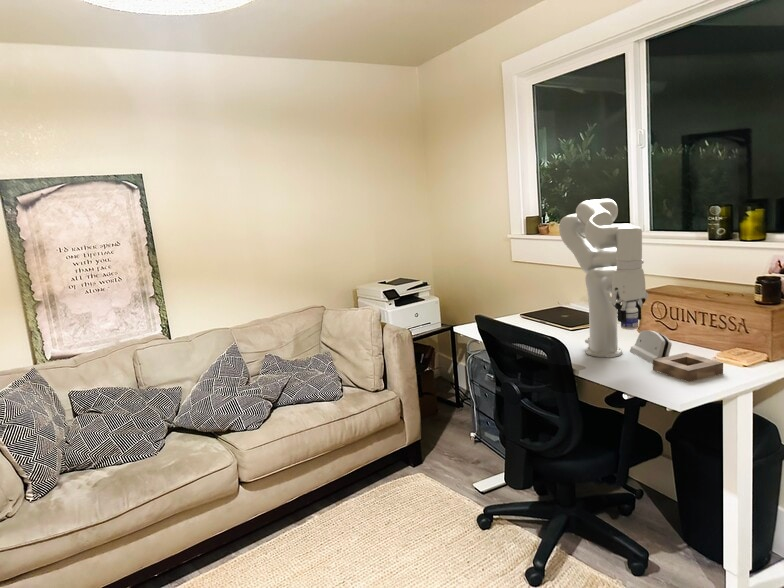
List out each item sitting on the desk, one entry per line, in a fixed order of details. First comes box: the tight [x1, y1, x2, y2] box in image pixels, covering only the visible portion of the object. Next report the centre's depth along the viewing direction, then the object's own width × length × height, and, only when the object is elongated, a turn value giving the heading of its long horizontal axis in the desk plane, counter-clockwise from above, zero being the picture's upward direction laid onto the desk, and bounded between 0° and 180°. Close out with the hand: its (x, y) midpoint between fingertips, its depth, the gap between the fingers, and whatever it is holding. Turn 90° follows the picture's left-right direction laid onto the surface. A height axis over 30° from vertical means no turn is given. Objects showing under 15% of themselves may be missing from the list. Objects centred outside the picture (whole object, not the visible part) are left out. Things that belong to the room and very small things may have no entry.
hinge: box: [629, 329, 673, 365], centre depth 197 cm, size 17×5×10 cm, turn 3°
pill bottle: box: [620, 300, 639, 331], centre depth 183 cm, size 5×5×9 cm
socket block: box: [652, 352, 724, 383], centre depth 179 cm, size 14×14×4 cm
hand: (629, 319), depth 183 cm, fingers closed on pill bottle, 5 cm apart
